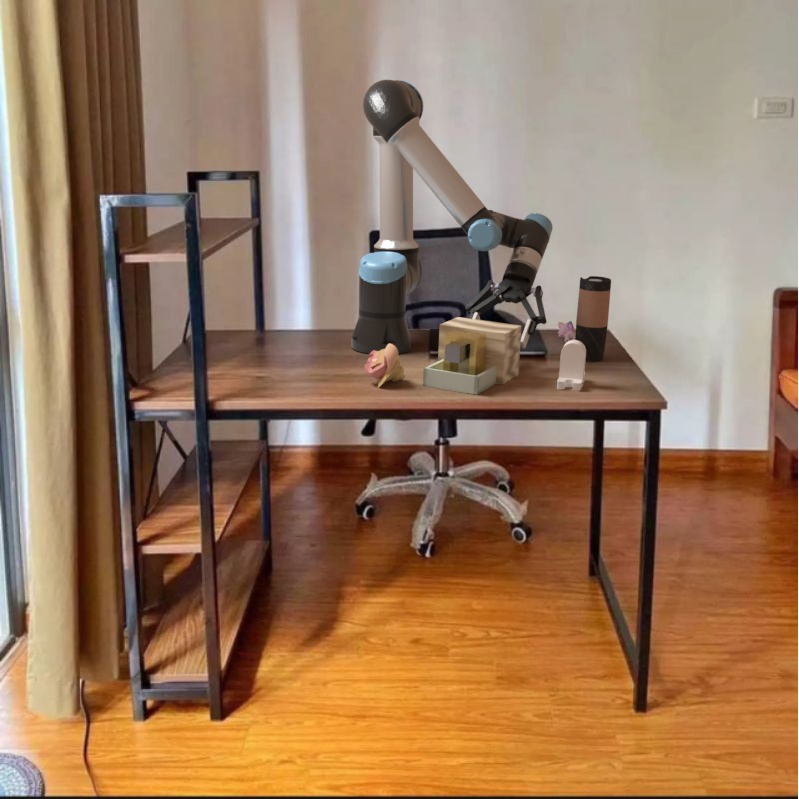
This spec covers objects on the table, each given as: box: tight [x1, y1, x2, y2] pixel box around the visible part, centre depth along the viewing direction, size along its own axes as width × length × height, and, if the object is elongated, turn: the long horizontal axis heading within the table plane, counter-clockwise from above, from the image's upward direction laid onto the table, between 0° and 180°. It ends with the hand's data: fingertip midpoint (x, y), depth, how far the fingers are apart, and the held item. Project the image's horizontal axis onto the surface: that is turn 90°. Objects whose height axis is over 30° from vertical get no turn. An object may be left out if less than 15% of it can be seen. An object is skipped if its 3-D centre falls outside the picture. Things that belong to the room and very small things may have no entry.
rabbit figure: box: [557, 320, 576, 344], centre depth 272 cm, size 6×6×15 cm
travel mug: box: [575, 275, 612, 363], centre depth 250 cm, size 8×8×20 cm
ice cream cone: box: [364, 343, 406, 388], centre depth 225 cm, size 9×10×10 cm
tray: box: [422, 359, 497, 396], centre depth 226 cm, size 13×10×4 cm
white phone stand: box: [556, 340, 586, 391], centre depth 228 cm, size 5×10×10 cm, turn 165°
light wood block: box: [437, 316, 522, 385], centre depth 233 cm, size 10×16×12 cm, turn 62°
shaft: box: [445, 342, 470, 363], centre depth 232 cm, size 28×4×4 cm, turn 152°
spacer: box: [443, 330, 486, 376], centre depth 226 cm, size 5×8×9 cm, turn 62°
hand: (495, 341), depth 241 cm, fingers open, 13 cm apart
